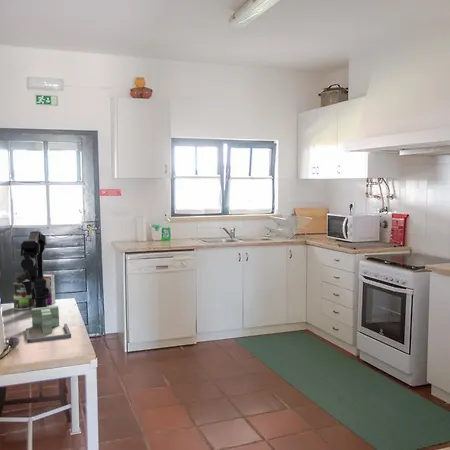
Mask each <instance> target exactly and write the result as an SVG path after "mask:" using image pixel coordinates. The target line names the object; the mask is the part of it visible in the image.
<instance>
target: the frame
mask: <svg viewBox="0 0 450 450" xmlns="http://www.w3.org/2000/svg"><path fill="white" fill-rule="evenodd" d="M68 326H69V325H68V323H63V328H64V330H65V332H66V333H65V334H57V335H49V336H42V337H35V338H31V336H30V328H29V327H28V328H25V336H26V343H27V344H32V343H41V342H48V341H56V340H62V339H63V340H64V339H69V338H72V333H71V331H70V328H69V327H68Z"/></svg>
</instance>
